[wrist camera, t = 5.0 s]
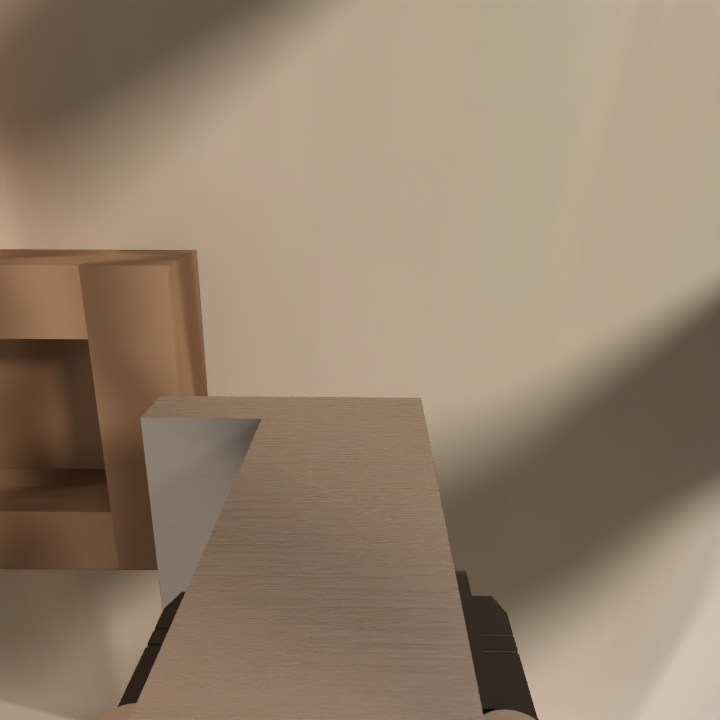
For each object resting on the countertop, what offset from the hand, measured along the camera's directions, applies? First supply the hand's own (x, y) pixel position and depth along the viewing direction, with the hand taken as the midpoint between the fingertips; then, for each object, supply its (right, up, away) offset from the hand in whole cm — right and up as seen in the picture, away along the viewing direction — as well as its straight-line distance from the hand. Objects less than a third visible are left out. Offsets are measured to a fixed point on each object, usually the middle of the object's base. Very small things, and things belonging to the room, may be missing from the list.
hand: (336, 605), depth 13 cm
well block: (-15, +4, +18) cm, 23 cm away
